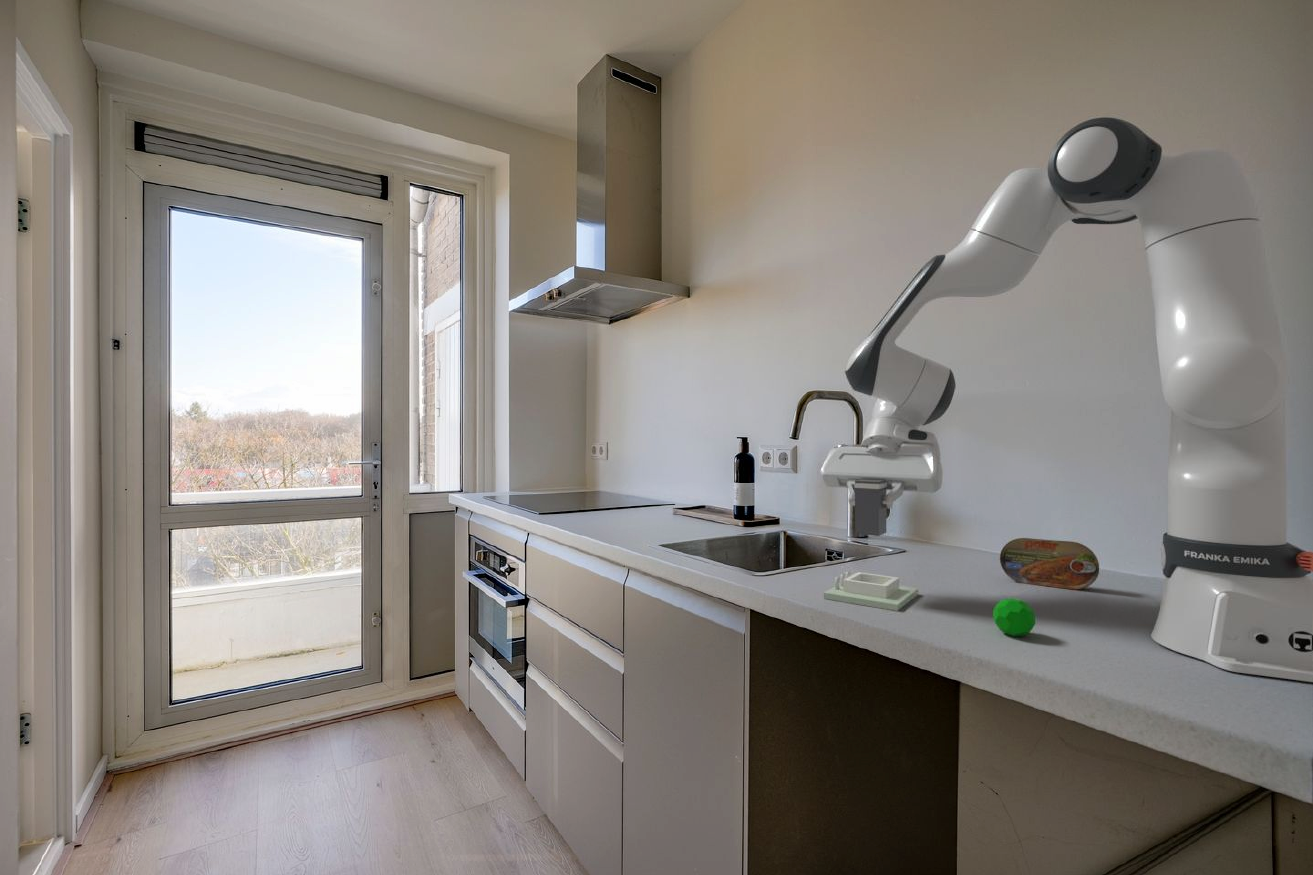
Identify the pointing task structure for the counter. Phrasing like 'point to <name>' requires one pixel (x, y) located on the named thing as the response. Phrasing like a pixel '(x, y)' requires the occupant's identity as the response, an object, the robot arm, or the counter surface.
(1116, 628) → the counter surface
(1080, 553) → the tin
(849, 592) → the board
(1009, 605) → the polyhedron
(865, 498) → the dark grey tall block
